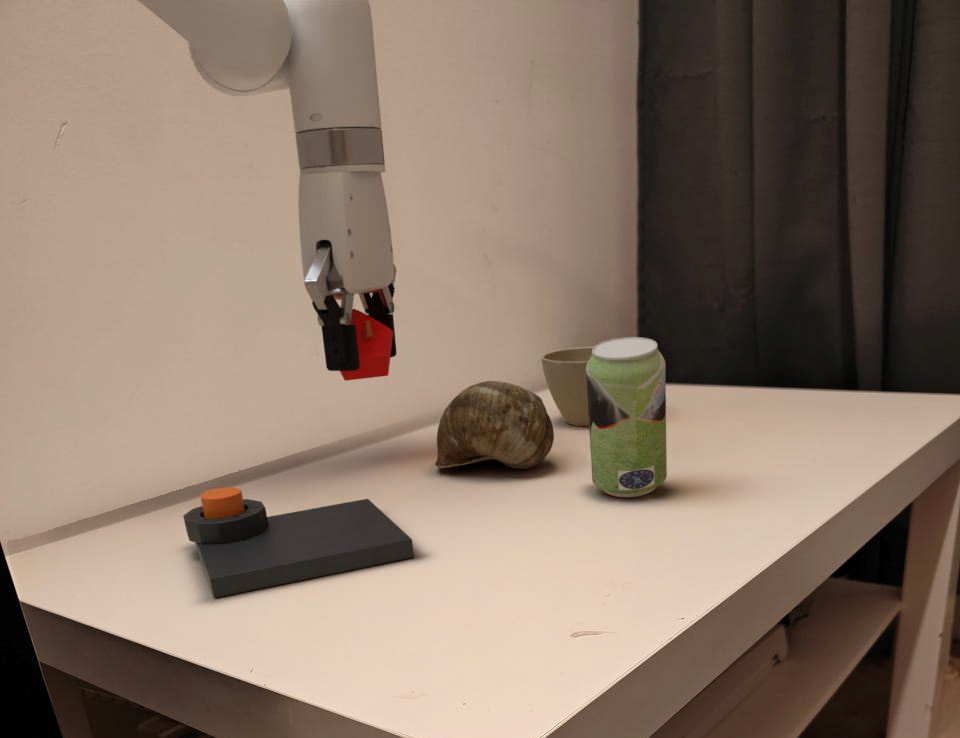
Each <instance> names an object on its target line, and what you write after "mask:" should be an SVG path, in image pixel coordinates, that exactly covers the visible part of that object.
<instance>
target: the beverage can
mask: <svg viewBox="0 0 960 738" xmlns="http://www.w3.org/2000/svg"><path fill="white" fill-rule="evenodd" d="M658 346H659V345H658V342H657V341H655V340H654V339H651V338H647V337H639V336H627V337H626V336H625V337H618V338H612V339H608V340H604V341H601V342H599V343H597V344H595V345H594V348H593V349H592V353H593V354H592V356H591V358H590V360H589V361H588V363H587V366H586V383H587V399H588V416H589V426H588V429H589V445H590V447H589V449H590V464H591V479H592V483H593V484H594V486H595V487H596V488H598V489H600V490H601V491H603V492H604V493H605V494H607V495H609V496H613V497H617V498H635V497H641V496H644V495H647V494H650V493H652V492H653V491H654V490H656V489H657V487H659V486H660V485H662V484H663V483H664V482H665V481H666V479H667V476H668V475H667V474H668V472H667V471H668V467H667V466H668V465H667V462H668V461H667V386H666V384H667V382H666V379H667V378H666V377H667V376H666V375H667V374H666V373H667V372H666V359H665V358H664V356H663V354H662V353H661V351H660V350H659V349H658Z"/></svg>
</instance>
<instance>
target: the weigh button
mask: <svg viewBox="0 0 960 738" xmlns="http://www.w3.org/2000/svg"><path fill="white" fill-rule="evenodd" d="M199 499H200V502H201V503H200V504H201V506H202V508H203V512H204V517H205V518H208V519H212V518H225V517H230V516H235V515H238V514H241V513H243V512H245V508H244V502H243V499H244V497H243V492H242V489H241V488H239V487H233V486H232V487H230V486H229V487H218V488H214V489H210V490H207V491H204V492H203V493H201V494H200V495H199Z"/></svg>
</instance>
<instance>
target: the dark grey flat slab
mask: <svg viewBox="0 0 960 738" xmlns="http://www.w3.org/2000/svg"><path fill="white" fill-rule="evenodd" d="M243 502H244V508H245V512H243V513H241V514H238V515H235V516H230V517H225V518H212V519H208V518H205V517H204V512H203V508H202V505H200V506H197V507H194V508H192V509H191V510H189V511H187V512H186V513H185V514H184V515H183V522H184V526H185V531H186V534H187V537H188V540H189V541H190V542H193V543H194V546H195V548H196V552H197V554H198V558H199V560H200V562H201V566H202V569H203V571H204V573H205V577H206V579H207V580H206V581H207V582H208V585H209V588H210V592H211V594H212V597H213V598H214V599H216V598H221V597H227V596H231V595H235V594H240V593H245V592H250V591H256V590H260V589H261V590H262V589H266V588H269V587H275V586H280V585H281V586H282V585H284V584H290V583H296V582H300V581H305V580H309V579H314V578H320V577H324V576H330V575H334V574H338V573H343V572H344V573H345V572H348V571H353V570H358V569H359V570H360V569H364V568H368V567H373V566H379V565H383V564H389V563H392V562H398V561H402V560H409V559H413V558H414V557H415V555H414V554H415V553H414V546H413V538H411V537H410V536H409V535H408V533H406V532H405V531H404V530H403V529H401V528H400V527H399V526H398V524H396V523H395V522H394V521H393V520H392V519H391V518H390V517H389V516H387V515H386V514H385V513H384V512H383V511H382V510H381V509H380V508H379V507H378V506H377V505H375V504H374V502H372V500H370V499H369V498H364V499H363V498H362V499H359V500H352V501H347V502H342V503H336V504H331V505H324V506H320V507H315V508H308V509H304V510H297V511H291V512H288V513H282V514H275V515H270V516H269V515H267V509H266V506H265V504H264V503H263V501H260V500H254V499H249V498H243Z"/></svg>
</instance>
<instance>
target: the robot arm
mask: <svg viewBox="0 0 960 738" xmlns="http://www.w3.org/2000/svg"><path fill="white" fill-rule="evenodd" d="M137 2H138V3H140V4H141V5H143V6H144V7H145V8H146V9H147V10H149V11H150V12H151V13H152V14H154V15H155V16H156V17H158V18H159V19H160V20H161V21H163V23H164V24H166V25H167V26H169V27H170V28H171V29H172V30H173V31H175V32H176V33H177V34H178V35H180V36H181V37H182V38H183V39H184V40H185V41H187V46H188V45H189V46H188V51H189V50H190V52H189V55H190V54H191V56H190V58H192V59H191V61H192V60H193V61H192V63H193V62H194V64H193V66H194V65H195V66H194V68H195V67H196V68H195V70H196V69H197V70H196V71H197V73H198V72H199V73H198V74H199V76H200V75H201V76H202V77H201V76H200V77H201V79H203V80H204V81H205V83H206V84H208V85H209V86H210V87H212V88H213V89H215V90H216V91H218V92H220V93H222V94H225V95H228V96H232V97H249V96H256V95H262V94H265V93H271V92H276V91H282V90H289V96H290V103H291V111H292V119H293V127H294V134H295V141H296V142H295V144H296V151H297V159H298V168H299V180H298V225H299V227H298V229H299V241H300V242H299V243H300V253H301V255H300V256H301V265H302V274H303V275H302V276H303V281H304V282H303V283H304V288H305V290H306V292H307V295H309V297H310V300H311V304H312V308H313V309H314V311H315V312H316V314H317V323H318V325H319V326H320V327H321V334H322V341H323V350H324V358H325V366H326V369H327V370H328V371H329V372H340V371H356V370H358V369H359V368H360V362H359V353H358V343H357V334H356V325H355V324H350V322H351V315H352V309H353V307H354V299H355V295H359V299H360V302H361V305H362V307H363V310H364V313H365V314H366V315H368V316H370V317H371V318H373V319H375V320H377V321H378V322H380V323H382V324H383V325H385V326H387V327H389V328H390V329H391V330H392V331H393V339H392V348H391V356H390V358H394V357H396V356H397V354H398V353H397V344H396V343H397V342H396V330H395V320H394V313H395V303H394V300H393V298H394V295H395V292H396V291H395V289H396V288H395V286H394V285H395V281H396V276H397V267H396V265H395V263H394V250H393V249H394V248H393V239H392V232H391V231H392V230H391V225H390V223H391V222H390V218H389V217H390V216H389V211H388V210H389V209H388V205H387V198H386V192H385V187H384V186H385V185H384V182H383V176H382V173H385V172H386V165H385V151H384V141H383V131H382V117H381V109H380V98H379V85H378V75H377V63H376V53H375V51H376V50H375V41H374V29H373V17H372V11H371V5H370V1H369V0H137ZM338 301H341V303H340V305H339V303H338Z"/></svg>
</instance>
